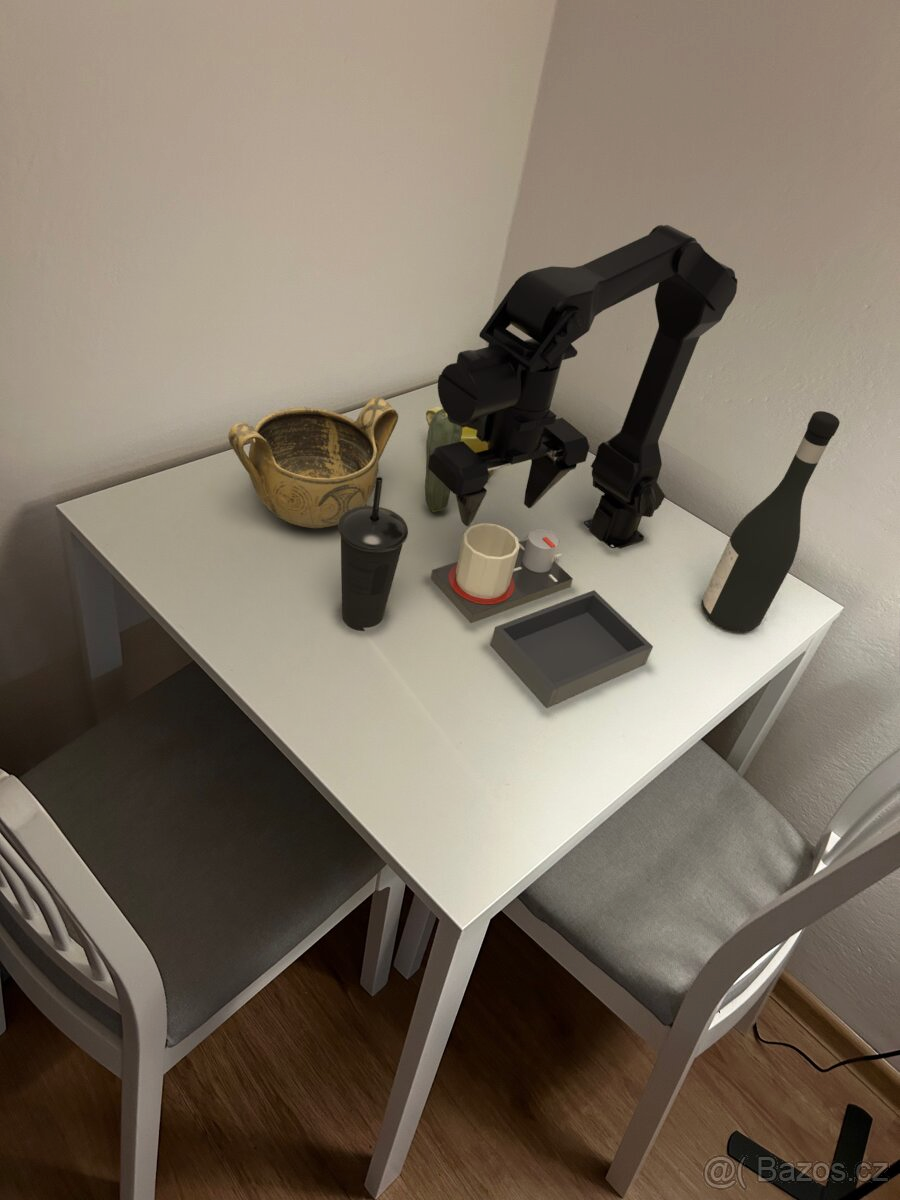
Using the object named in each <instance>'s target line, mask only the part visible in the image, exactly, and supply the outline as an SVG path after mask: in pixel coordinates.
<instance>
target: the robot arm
mask: <svg viewBox="0 0 900 1200" xmlns="http://www.w3.org/2000/svg"><path fill="white" fill-rule="evenodd" d="M656 285H657V288H656V292H655V297H654V306H655V311H656V317H657V318H656V319H657V324H658V326H657V327H658V328H657V330H656V333H655V335H654V339H653V342H652V345H651V347H650V350H649V352H648V355H647V358H646V361H645V363H644V366H643V368H642V372H641V374H640V377H639V380H638V382H637V386H636V388H635V391H634V394H633V396H632V399H631V401H630V405H629V407H628V409H627V412H626V415H625V419H624V421H623V423H622V426H621V429H620V431H619V432H618V433H616V434H615V435H614V436H612V437H611V438H610V439H608V440H607V441H603V442H601V443H600V444H598V446H597V450H596V455H595V457H594V460H593V462H592V463H591V465H590V468H591V477H592V487H593V488H595V489H598V490H599V491H600V492H602V493H603V494H602V495H600V499H599V502H598V505H597V506H596V507H595V511H594V514H593V517H592V518H590V519H587V520H584V521H583V525H584V526H586V528H587V529H589V532H591V533H592V534H593V535H594V536H595V537H596V538H597V539H599V540H600V541H602V542H603V543H604V544H606V545H607V546H608V547H609V548H610V549H616V548H617V549H623V548H624V547H627V546H630V545H633V544H635V543H639V542H643V540H644V538H645V536H644V535H643V534H642V533H641V532H640V531H639V530H638V529H639V526H640V523H641V521H642V518H643V517H646V518H651V517H653V516H654V514H655V511H657V510H658V509H659V508H660V506H661V505H662V504H663V502H664V500H665V498H666V494H665V493H664V491H663V490H662V489H661V487H660V485H659V484H658V480H659V476H660V472H661V469H662V466H663V463H662V462H663V461H662V456H661V451H660V444H659V441H660V437H661V435H662V432H663V430H664V428H665V425H666V422H667V419H668V417H669V414H670V412H671V410H672V408H673V405H674V403H675V400H676V397H677V394H678V392H679V390H680V386H681V384H682V382H683V379H684V377H685V375H686V372H687V370H688V367H689V364H690V361H691V359H692V358H693V357H692V356H693V355H694V352H695V349H696V346H697V344H698V342H699V339H700V338H701V336H703V335H704V334H705V333H707V332H708V331H709V330H710V329H712V328H713V327H715V326H716V325H717V324H718V323H720V322H721V320H722V319H723V318H724V315H725V313H726V311H727V309H728V308H729V307H730V305H731V304H732V303H733V301H734V299H735V297H736V294H737V290H738V278H737V277H736V273H735V271H734V270H733V269H732V268H731V267H729V266H727V265H725V264H723V263H721V262H719V261H717V260H716V259H715V258H713V257H712V256H711V255H710V254H709V253H708V252H706V251H705V249H704V248H703V246H702V245H701V243H699V242H698V240H697V238H695V237H693V236H691V235H689V234H687V233H685V232H683V231H681V230H679V229H678V228H676V227H674V226H671V225H669V224H665V225H663V224H659V225H657V226H655V227H654V228H653V229H652V230H651V231H650V232H649V233H648V234H647V235H645V236H642V237H640V238H638V239H636V240H633V241H632V242H629V243H627V244H625V245H623V246H621V247H619V248H616V249H614V250H612V251H610V252H608V253H605V254H604V255H602V256H599V257H597V258H595V259H593V260H591V261H588V262H587V263H584V264H582V265H578V266H574V267H568V266H553V265H552V266H548V267H542V268H537V269H534V270H530V271H528V272H526V273H523V274H522V275H521V276H519V277H518V278H517V279H516V280H515V281H514V284H513V285H512V286H511V287H510V288H509V290H508V292H507V293H506V295H504V297H503V298H502V300H501V302H500V303H499V304H498V306H497V307H496V309H495V310H494V312H493V313H492V314H491V316H490V318H488V320H487V322H486V323H485V325H484V326H483V328H482V329H481V330H480V332H479V335H478V336H479V339H482V340H483V341H485V342H486V343H488V346H486V347H483V348H479V349H468V350H467V349H466V350H463V351H460V352H459V353H458V354H457V357H456V362H453V363H450V364H448V365H446V366H445V367H444V368H443V369H442V371H441V374H439V375H438V379H437V395H438V398H439V402H440V405H441V407H442V408H443V409H444V410H445V412H446V414H447V418H448V420H449V422H451V423H453V424H457V425H460V427H469V428H472V429H475V430H477V434H476V437H477V438H478V439H479V440H480V441H481V442H484V441H486V442H487V443H488V446H487V447H488V450H484V451H480V452H476V453H475V452H474V451H473V450H472V449H471V448H470V447H469V446H468V445H466V444H465V443H464V442H463V441H461V442H457V443H453V444H449V445H444V446H440V447H437V448H435V449H432V450H431V453H430V458H429V464H428V468H429V469H430V470H431V471H432V472H433V473H434V474H435V475H436V476H437V477H438V478H439V479H440V480H441V481H442V482H443V483H444V484H445V485H446V486H447V487H448V488H449V489H450V490H451V491H450V492H452V494H453V495H455V498H456V499H455V500H456V504H457V508H458V512H459V517H460V521H461V523H462V524H463V525H464V526H465V527H466V528H467V527H468V528H469V527H470V526H471V524H472V523H473V522H474V519H475V518H476V515H477V513H478V511H479V509H480V508H481V505H482V503H483V501H484V499H485V496H486V494H487V493H488V490H487V488H485V486H486V485H487V484H488V482H489V477H490V476H489V471H490V470H493V471H494V470H497V469H501V468H504V467H509V466H513V465H515V464H516V465H517V464H521V463H524V462H527V461H530V462H531V464H530V468H529V473H528V478H527V482H526V486H525V491H524V498H523V504H524V506H525V507H527V509H532V508H533V507H534V506H535V505H536V504H537V503H538V502H539V501H540V500H541V499H542V498H543V497H544V496H545V495H546V494H547V493H548V492H549V491H550V490H551V489H552V488H553V487H554V486H555V485H556V484H557V483H558V482H560V481H561V480H562V479H563V478H564V477H565V476H566V475H567V474H569V472H571V471H573V470H575V469H576V468H577V465H578V464H581V463H585V462H586V461H587V457H588V455H589V451H590V444H589V443H590V442H589V440H588V438H587V436H586V435H584V434H583V433H582V432H581V431H579V430H578V429H577V428H576V427H575V426H573V425H572V424H571V423H570V422H569V421H567V420H566V419H565V418H563V417H560V418H557V414H556V413H554V412H553V411H552V410H551V406H552V402H553V398H554V393H555V390H556V387H557V382H558V378H559V374H560V371H561V367H562V363H563V361H564V360H568V359H572V358H575V357H577V356H578V353H579V352H578V349H576V348H575V346H573V343H574V342H575V341H577V340H579V339H580V338H581V337H583V336H584V335H585V334H587V333H588V332H589V331H590V330H591V327H592V325H593V322H594V320H595V319H596V316H598V315H599V314H601V313H602V312H603V311H606V310H607V309H610V308H611V307H613V306H616V305H617V304H620V303H621V302H623V301H626V300H627V299H629V298H632V297H633V296H635V295H638V294H639V293H642V292H643V291H646V290H647V289H650V288H652V287H654V286H656ZM509 326H512V327H514V328H516V329H517V330H519V331H520V332H522V333H523V334H525V335H526V336H528V337H529V339H525V340H524V339H522V338H520V337H519V336H517V335H516V334H514V333H513V332H511V331H510V330H508V329H507V328H509Z"/></svg>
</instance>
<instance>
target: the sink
mask: <svg viewBox="0 0 900 1200" xmlns="http://www.w3.org/2000/svg"><path fill="white" fill-rule="evenodd" d="M489 646H490V647H491V648H492V649H493V651H494V652H496V654H497V655H498V656H499V657H500V658H501V659H502V660H503V662H504V663H506V665H507V666H508V667H509V669H511V671H512V672H513V673H514V674H515V675H516V676H517V678H518V679H520V680H521V682H522V683H523V684H524V685H525V687H527V688H528V690H529V691H530V692H531V693H532V694H533V695H534V696H535V698H537V700H538V701H539V702H540V703H541V704H542V705H543V706H544V707H545V709H549V708H550V707H553V706H555V705H559V704H560V703H562V702H565V701H566V700H568V699H571V698H573V697H575V696H578V695H580V694H582V693H584V692H587V691H589V690H592V689H593V688H595V687H598V686H600V685H603V684H604V683H605V684H606V683H607V682H609V681H612V680H613V679H616V678H618V677H621V676H622V675H625V674H627V673H629V672H631V671H633V670H636V669H639V668H640V667H642V666H645V665H647V662H648V660H649V657H650V655H651V653H652V650H653V648H654V645H652V644H651V642H649V641H648V640H647V639H646V638H645V637H644V636H643V635H642V634H641V633H640V632H639V631H638V630H637V629H636V628H634V627H633V625H632V624H630V622H629V621H627V620H626V619H625V618H624V617H623V616H622V615H621V614H620V613H619V612H618V611H617V610H616V609H615V608H613V606H612V605H611V604H610V603H608V602H607V601H606V599H604V598H603V597H602V596H601V595H600V594H599V593H598V592H597V591H596V590H594V589H593V590H591V591H588V592H585V593H582V594H580V595H577V596H574V597H572V598H568V599H566V600H564V601H561V602H558V603H556V604H553V605H550V606H548V607H544V608H542V609H539V610H537V611H533V612H532V613H528V614H526V615H523V616H521V617H517V618H515V619H513V620H510V621H506V622H504V623H502V624H499V625H496V626H495V627H494V629H493V633H492V636H491V641H490V645H489Z"/></svg>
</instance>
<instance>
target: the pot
mask: <svg viewBox="0 0 900 1200" xmlns="http://www.w3.org/2000/svg"><path fill="white" fill-rule="evenodd" d="M519 542H520V541H519V538H518V537H517V536H516V535H515V534H514V533H513V531H511V530H510V529H508V528H506V527H504V526H502V525H499V524H497V523H485V522H481V523H477V524H474V525H470V526H468V528H467V529H466V530H465V532H464V533H463V536H462V539H461V545H460V550H459V555H458V559H457V562H458V564H457V568H456V581H457V583H458V585H459V587H460V588H461V589H462V590H463V591H465V592H466V593H468V594H469V595H471V596H474V597H477V598H483V599H492V598H496V597H499V596H501V595H503V594H504V593H505V592H506V590H507V588H508V586H509V585H510V582H511V578H512V574H513V570H514V567H515V563H516V559H517V555H518V551H519V548H520V547H519Z"/></svg>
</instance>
